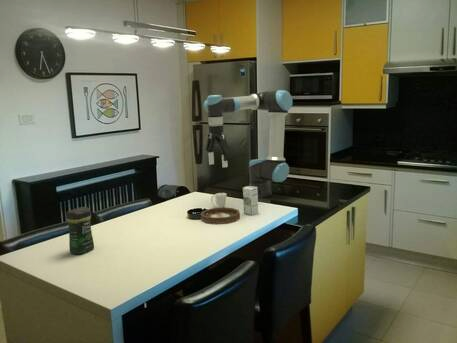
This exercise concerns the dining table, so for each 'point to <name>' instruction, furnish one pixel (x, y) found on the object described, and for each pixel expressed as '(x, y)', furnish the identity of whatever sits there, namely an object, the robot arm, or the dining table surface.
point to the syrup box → (250, 200)
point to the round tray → (220, 215)
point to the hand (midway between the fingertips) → (218, 165)
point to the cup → (220, 200)
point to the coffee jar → (80, 230)
